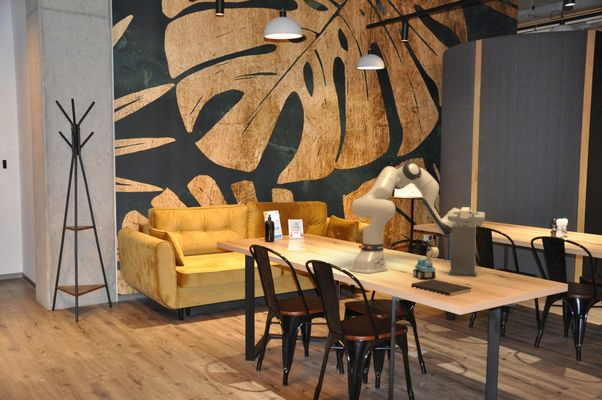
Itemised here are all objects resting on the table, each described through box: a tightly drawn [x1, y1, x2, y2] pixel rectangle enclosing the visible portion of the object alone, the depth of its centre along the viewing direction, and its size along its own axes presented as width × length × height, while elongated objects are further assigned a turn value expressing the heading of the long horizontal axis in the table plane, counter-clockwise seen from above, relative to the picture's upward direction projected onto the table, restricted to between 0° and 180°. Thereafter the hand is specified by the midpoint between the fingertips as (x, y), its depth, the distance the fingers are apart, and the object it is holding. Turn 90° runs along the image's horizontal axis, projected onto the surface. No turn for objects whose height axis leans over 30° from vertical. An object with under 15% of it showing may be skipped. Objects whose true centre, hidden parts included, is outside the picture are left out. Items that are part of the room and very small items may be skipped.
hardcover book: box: [411, 278, 472, 297], centre depth 287 cm, size 16×23×2 cm
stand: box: [447, 224, 478, 278], centre depth 321 cm, size 10×14×26 cm
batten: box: [460, 206, 471, 218], centre depth 327 cm, size 20×4×4 cm, turn 162°
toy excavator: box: [412, 246, 440, 280], centre depth 310 cm, size 9×17×17 cm, turn 16°
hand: (465, 210), depth 333 cm, fingers closed on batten, 4 cm apart
